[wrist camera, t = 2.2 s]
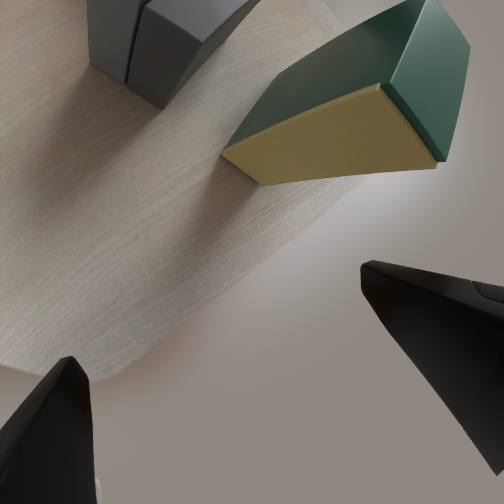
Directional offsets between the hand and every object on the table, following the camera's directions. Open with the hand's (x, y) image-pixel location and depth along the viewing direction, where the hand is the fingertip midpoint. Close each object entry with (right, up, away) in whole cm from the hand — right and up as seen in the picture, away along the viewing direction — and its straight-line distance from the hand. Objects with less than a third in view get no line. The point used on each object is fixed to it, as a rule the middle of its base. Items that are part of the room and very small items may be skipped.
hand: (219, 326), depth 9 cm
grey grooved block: (-5, +16, +9) cm, 19 cm away
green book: (+2, +11, +13) cm, 17 cm away
